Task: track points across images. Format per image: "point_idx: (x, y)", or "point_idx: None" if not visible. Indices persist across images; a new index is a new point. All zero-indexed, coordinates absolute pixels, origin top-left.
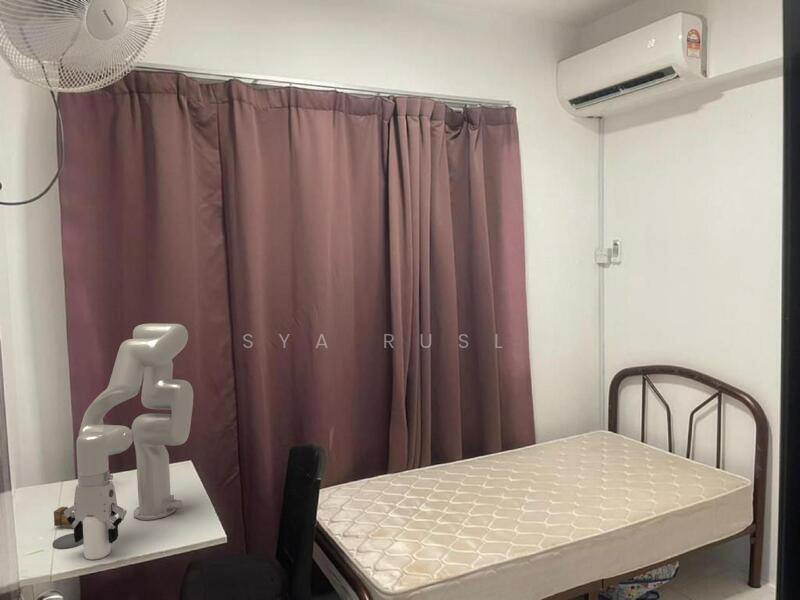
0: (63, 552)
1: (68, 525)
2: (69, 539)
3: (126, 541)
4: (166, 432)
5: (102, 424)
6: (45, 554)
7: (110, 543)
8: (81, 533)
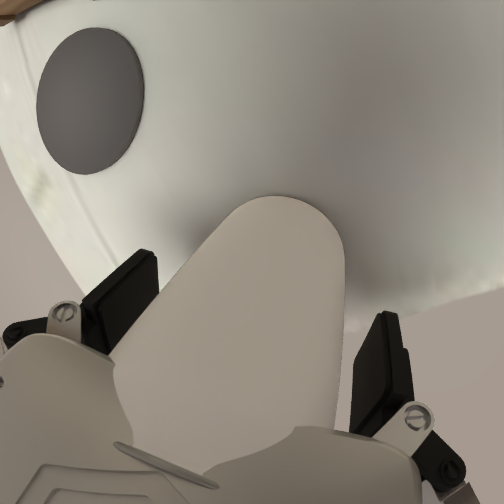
0: (110, 202)
1: (30, 6)
2: (72, 98)
3: (392, 109)
4: None
5: None
6: (68, 211)
7: (343, 272)
8: (138, 299)
